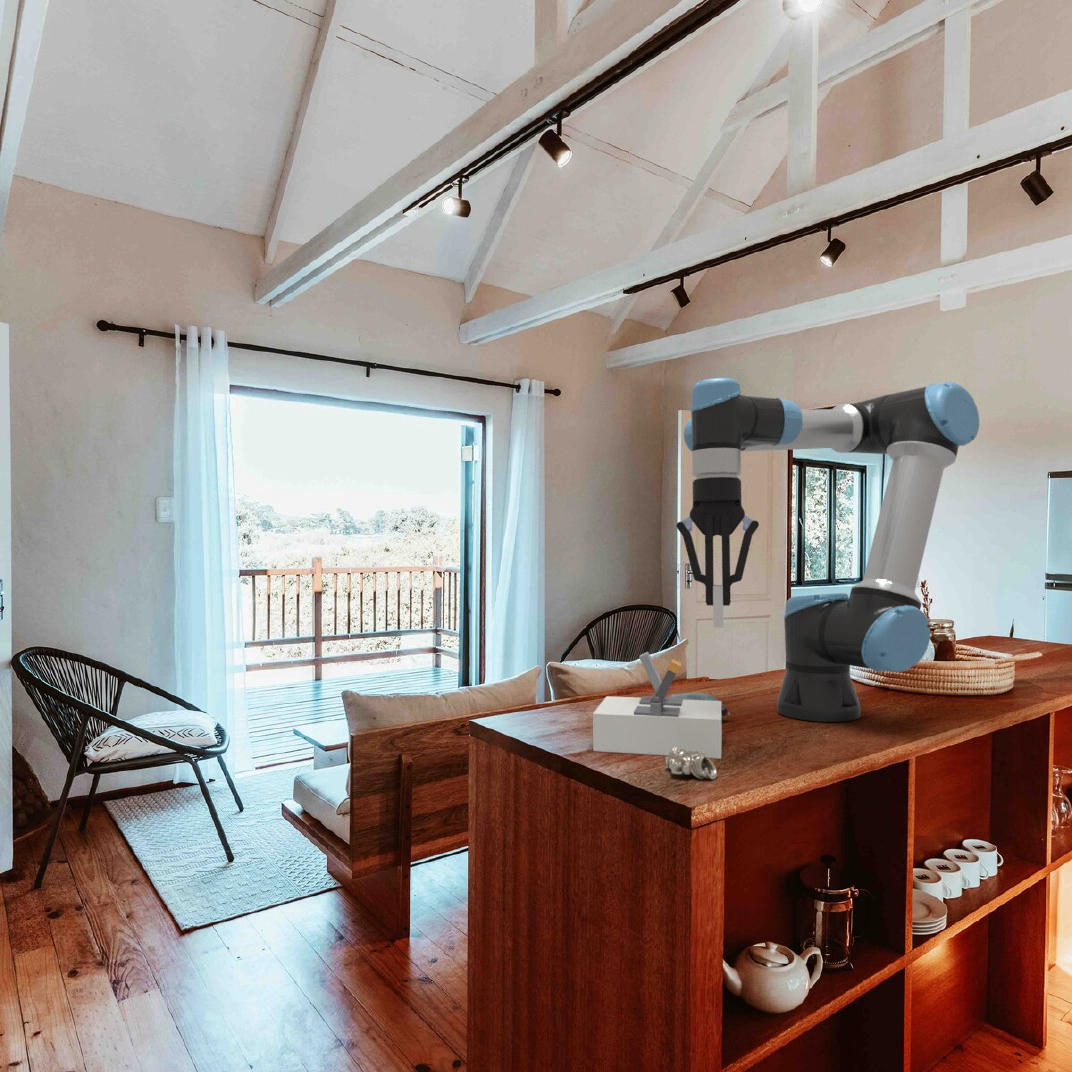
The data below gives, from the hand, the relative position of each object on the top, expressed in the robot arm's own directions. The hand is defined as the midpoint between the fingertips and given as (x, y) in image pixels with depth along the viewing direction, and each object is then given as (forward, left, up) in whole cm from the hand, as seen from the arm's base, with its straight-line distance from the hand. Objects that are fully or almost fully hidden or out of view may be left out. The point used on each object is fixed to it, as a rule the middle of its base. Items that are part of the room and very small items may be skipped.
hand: (718, 626), depth 118 cm
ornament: (+4, +12, -21) cm, 24 cm away
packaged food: (+5, -24, -21) cm, 32 cm away
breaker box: (+10, -4, -20) cm, 23 cm away
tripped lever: (+10, 0, -12) cm, 16 cm away
